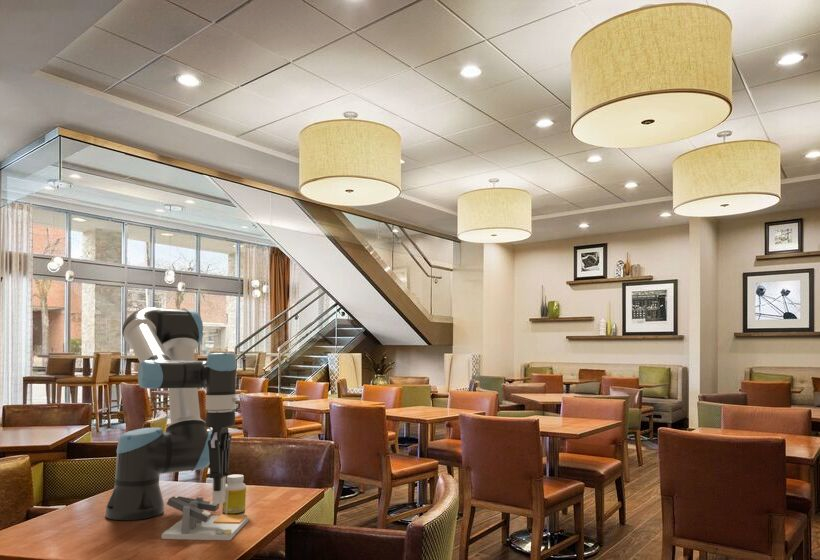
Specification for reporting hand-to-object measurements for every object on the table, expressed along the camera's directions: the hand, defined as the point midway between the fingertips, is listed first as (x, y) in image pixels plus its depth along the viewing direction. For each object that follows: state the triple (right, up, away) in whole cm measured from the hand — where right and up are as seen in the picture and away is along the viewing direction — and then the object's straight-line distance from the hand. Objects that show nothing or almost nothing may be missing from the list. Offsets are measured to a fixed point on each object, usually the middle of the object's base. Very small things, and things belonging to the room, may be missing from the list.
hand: (218, 502), depth 160 cm
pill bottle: (0, -9, +14) cm, 16 cm away
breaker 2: (-6, 0, 0) cm, 6 cm away
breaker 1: (-6, 0, -5) cm, 8 cm away
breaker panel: (-3, -7, 0) cm, 8 cm away
